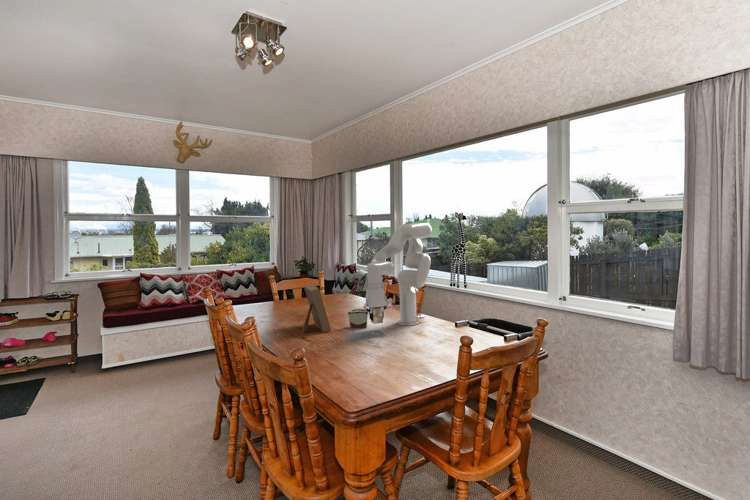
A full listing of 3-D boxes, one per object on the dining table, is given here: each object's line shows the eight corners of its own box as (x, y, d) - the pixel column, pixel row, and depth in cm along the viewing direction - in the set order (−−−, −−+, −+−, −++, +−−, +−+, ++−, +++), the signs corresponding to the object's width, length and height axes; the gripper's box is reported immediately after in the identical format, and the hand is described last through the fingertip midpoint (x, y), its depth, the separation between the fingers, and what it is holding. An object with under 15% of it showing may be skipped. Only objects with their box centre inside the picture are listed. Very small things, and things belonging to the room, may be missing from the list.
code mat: (378, 329, 214) (378, 329, 214) (388, 336, 201) (388, 336, 201) (344, 334, 208) (344, 333, 208) (351, 341, 195) (351, 341, 195)
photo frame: (321, 322, 234) (319, 282, 232) (331, 331, 214) (328, 287, 212) (297, 326, 229) (295, 284, 227) (304, 335, 208) (302, 290, 207)
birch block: (379, 320, 210) (378, 306, 209) (383, 322, 205) (382, 308, 204) (371, 321, 208) (370, 307, 208) (374, 324, 204) (373, 309, 203)
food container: (370, 325, 225) (369, 308, 224) (369, 328, 218) (368, 310, 218) (349, 325, 226) (349, 308, 225) (347, 328, 220) (347, 311, 219)
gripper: (387, 283, 211) (388, 315, 213) (357, 286, 206) (359, 320, 207) (392, 285, 204) (394, 318, 206) (362, 289, 199) (364, 323, 200)
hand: (376, 319), depth 207 cm, fingers closed on birch block, 5 cm apart
